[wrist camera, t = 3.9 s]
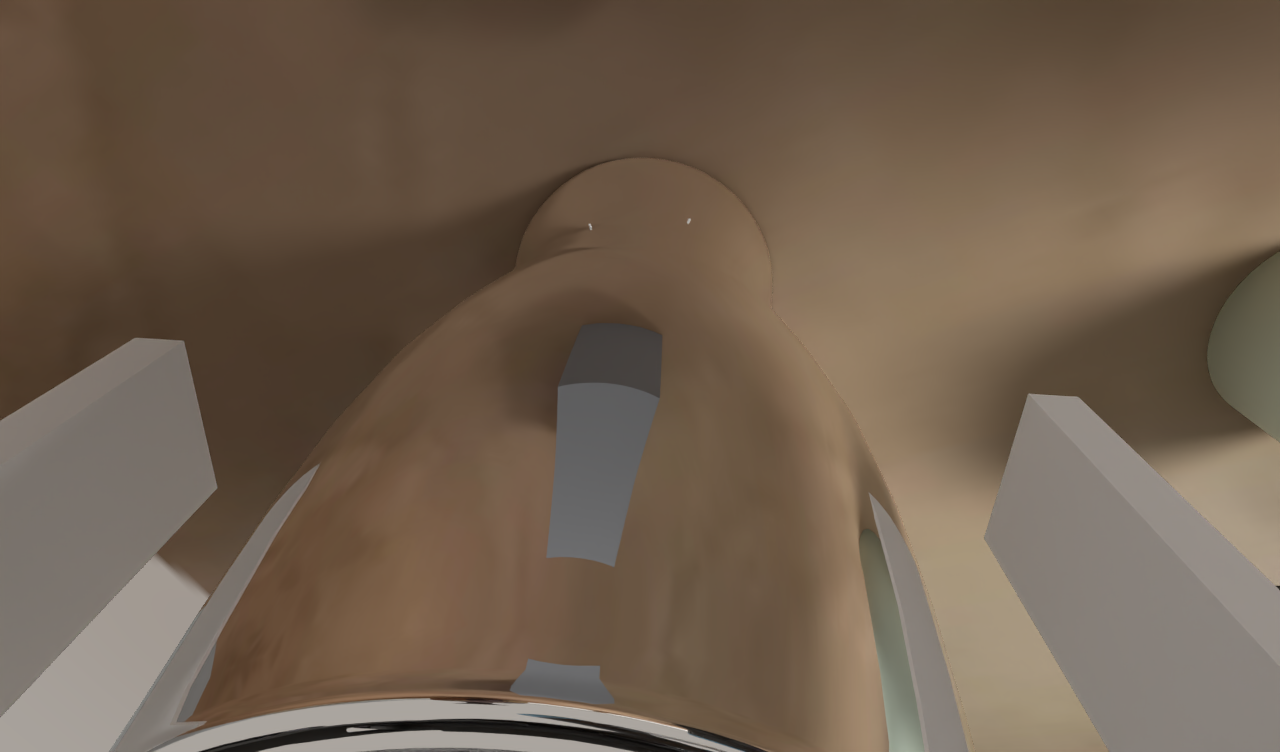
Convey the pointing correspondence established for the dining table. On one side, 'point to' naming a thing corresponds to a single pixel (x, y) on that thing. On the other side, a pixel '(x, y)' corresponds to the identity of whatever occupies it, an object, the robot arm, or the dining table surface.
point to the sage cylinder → (1250, 348)
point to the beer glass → (580, 526)
